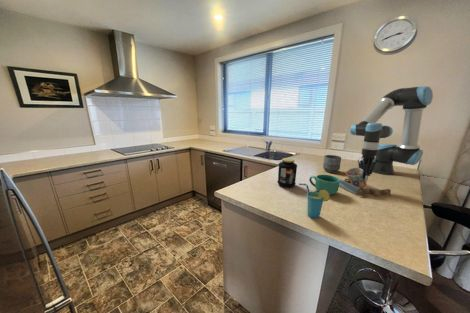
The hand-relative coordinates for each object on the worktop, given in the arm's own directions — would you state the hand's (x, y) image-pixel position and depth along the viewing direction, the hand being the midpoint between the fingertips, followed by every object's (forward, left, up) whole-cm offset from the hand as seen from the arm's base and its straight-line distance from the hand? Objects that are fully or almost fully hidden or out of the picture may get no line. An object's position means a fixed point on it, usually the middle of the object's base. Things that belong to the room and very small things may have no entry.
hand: (363, 184), depth 116 cm
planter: (-4, -34, -3) cm, 34 cm away
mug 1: (+29, -1, -3) cm, 29 cm away
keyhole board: (+3, 0, -3) cm, 4 cm away
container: (+46, -15, -3) cm, 48 cm away
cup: (+52, +21, -3) cm, 56 cm away
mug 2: (+4, 0, 0) cm, 4 cm away
